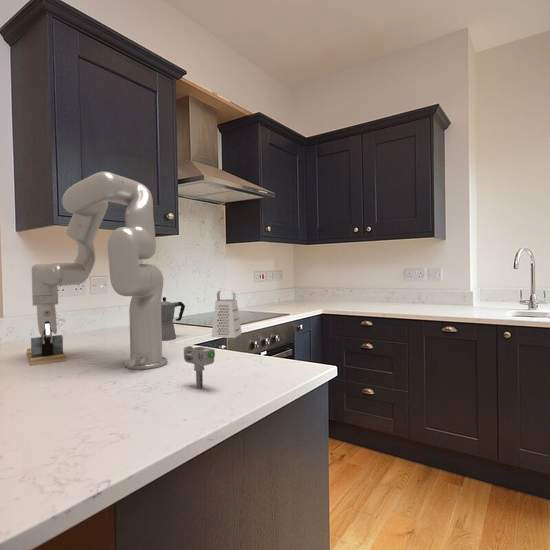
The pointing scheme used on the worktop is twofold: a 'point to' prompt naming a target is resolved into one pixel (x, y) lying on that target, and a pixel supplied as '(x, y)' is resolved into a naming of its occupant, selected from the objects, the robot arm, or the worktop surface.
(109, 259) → the robot arm
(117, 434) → the worktop surface
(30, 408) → the worktop surface
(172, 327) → the coffeepot
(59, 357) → the pine board
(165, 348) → the worktop surface
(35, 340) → the sanding block
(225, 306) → the grater
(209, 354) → the mechanical component
